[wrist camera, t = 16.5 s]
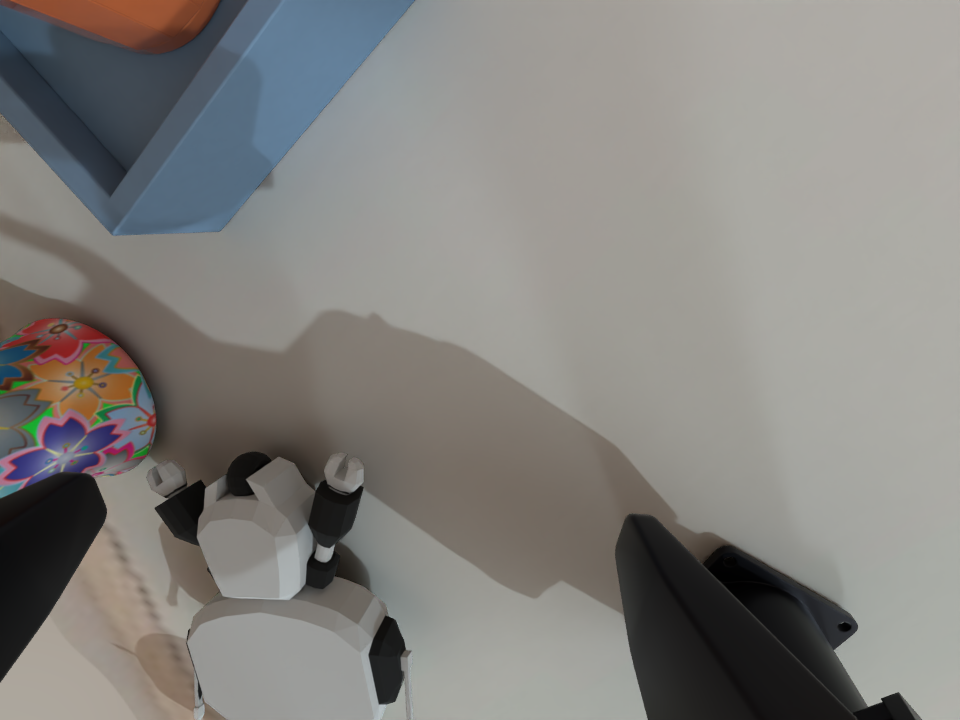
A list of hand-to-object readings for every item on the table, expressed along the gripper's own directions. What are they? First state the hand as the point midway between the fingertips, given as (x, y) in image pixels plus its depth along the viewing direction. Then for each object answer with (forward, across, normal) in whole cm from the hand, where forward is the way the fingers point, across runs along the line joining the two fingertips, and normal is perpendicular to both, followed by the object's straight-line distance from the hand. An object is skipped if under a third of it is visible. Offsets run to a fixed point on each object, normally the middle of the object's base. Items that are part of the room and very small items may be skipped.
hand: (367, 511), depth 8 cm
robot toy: (+11, +6, +16) cm, 20 cm away
